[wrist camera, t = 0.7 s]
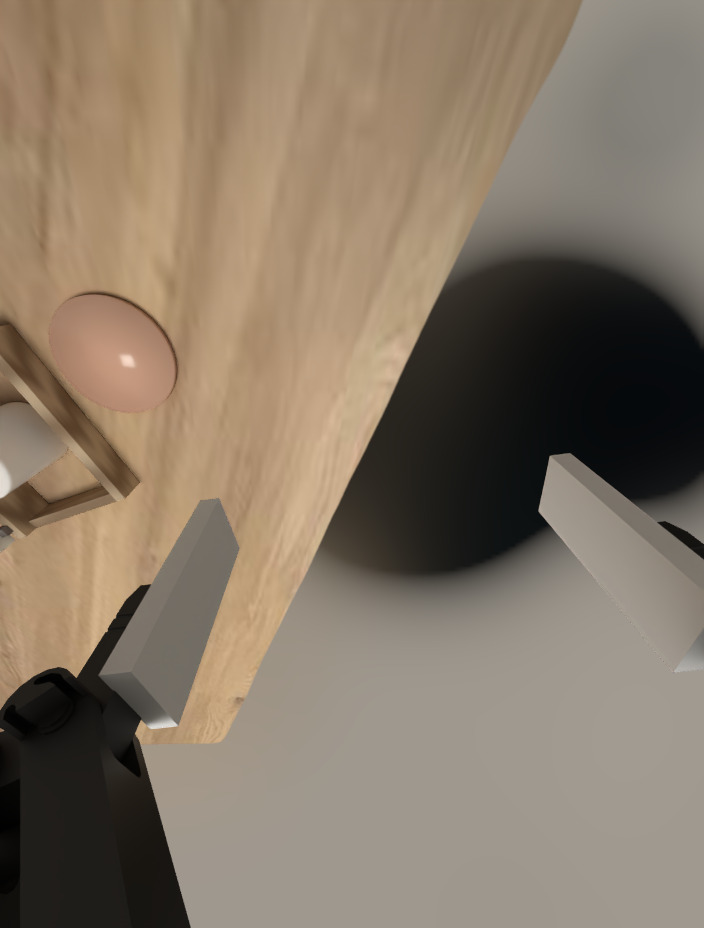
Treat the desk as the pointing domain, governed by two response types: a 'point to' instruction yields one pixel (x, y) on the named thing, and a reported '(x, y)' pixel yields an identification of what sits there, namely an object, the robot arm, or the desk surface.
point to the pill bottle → (25, 445)
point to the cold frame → (55, 406)
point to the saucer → (113, 353)
